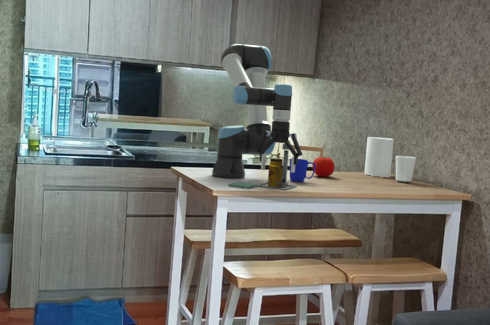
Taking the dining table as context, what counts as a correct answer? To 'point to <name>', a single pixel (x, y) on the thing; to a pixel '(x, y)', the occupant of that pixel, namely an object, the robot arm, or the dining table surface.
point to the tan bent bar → (306, 148)
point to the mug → (300, 170)
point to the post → (285, 167)
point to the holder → (276, 187)
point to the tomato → (323, 166)
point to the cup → (404, 168)
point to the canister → (379, 156)
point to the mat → (243, 185)
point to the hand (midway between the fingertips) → (277, 170)
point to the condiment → (275, 173)
